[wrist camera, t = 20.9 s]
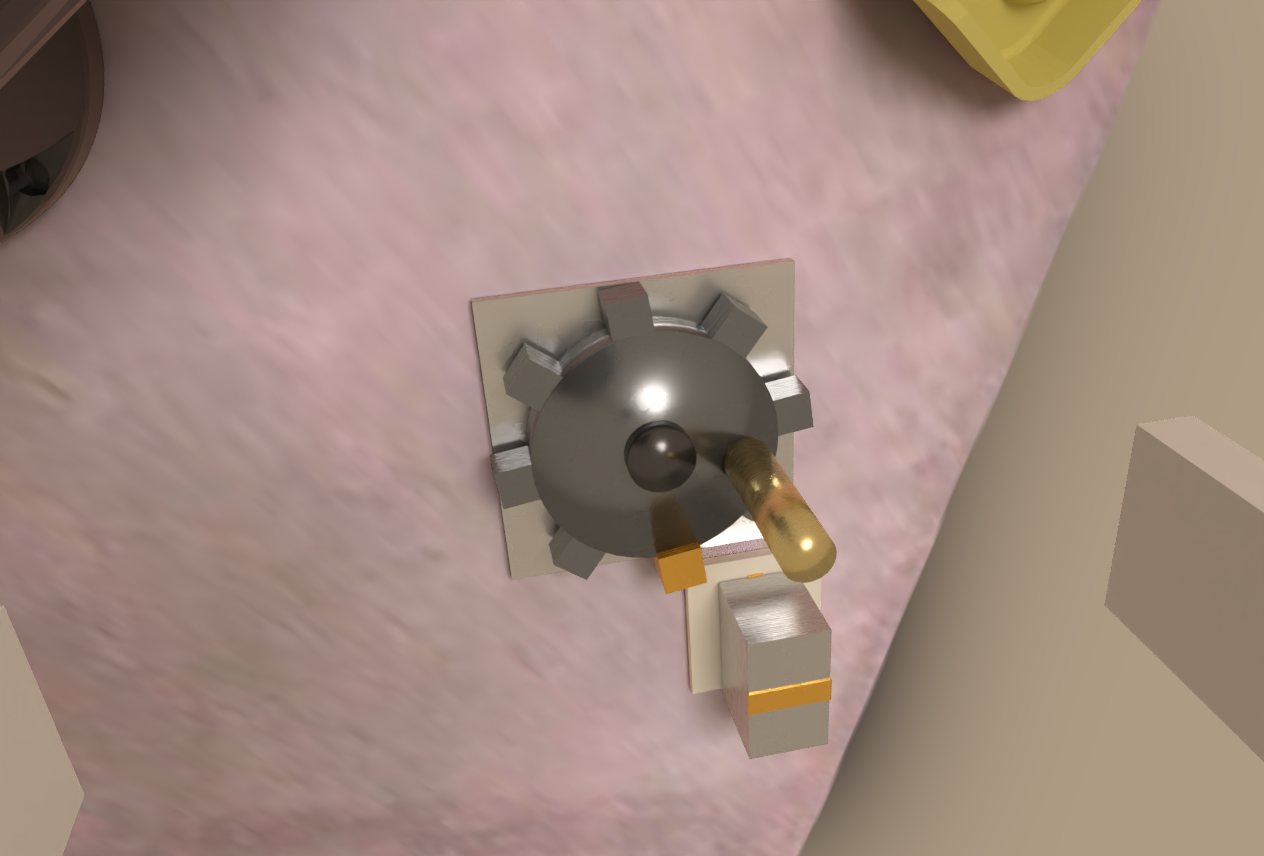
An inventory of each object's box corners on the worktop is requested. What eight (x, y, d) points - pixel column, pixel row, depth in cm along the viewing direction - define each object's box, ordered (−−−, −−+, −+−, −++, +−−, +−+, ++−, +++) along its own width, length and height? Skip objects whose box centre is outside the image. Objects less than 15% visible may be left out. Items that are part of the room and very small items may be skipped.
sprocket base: (510, 573, 49) (511, 579, 49) (471, 298, 43) (471, 302, 43) (789, 527, 51) (793, 532, 51) (790, 258, 45) (794, 261, 45)
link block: (720, 691, 54) (749, 760, 50) (717, 582, 51) (747, 646, 47) (795, 677, 55) (829, 745, 51) (796, 569, 52) (833, 631, 47)
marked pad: (690, 686, 55) (693, 695, 54) (683, 562, 51) (686, 570, 51) (815, 663, 56) (819, 671, 55) (818, 539, 52) (822, 546, 52)
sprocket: (522, 262, 42) (552, 353, 33) (830, 307, 46) (931, 400, 37) (472, 551, 48) (487, 694, 39) (751, 571, 51) (822, 706, 42)
